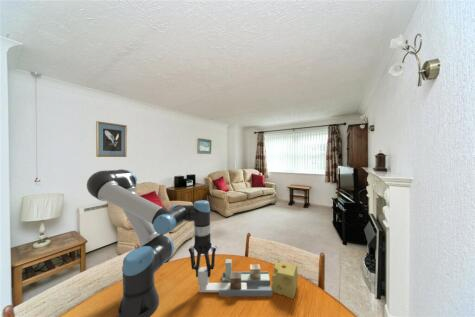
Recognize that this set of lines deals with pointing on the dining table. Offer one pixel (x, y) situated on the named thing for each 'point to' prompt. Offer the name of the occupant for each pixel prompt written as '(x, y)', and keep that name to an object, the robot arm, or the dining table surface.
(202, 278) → the strip front
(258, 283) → the lane board
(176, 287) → the dining table surface
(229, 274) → the strip rear
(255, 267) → the maple block
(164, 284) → the dining table surface
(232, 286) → the walnut block
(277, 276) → the cheese
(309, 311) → the dining table surface
